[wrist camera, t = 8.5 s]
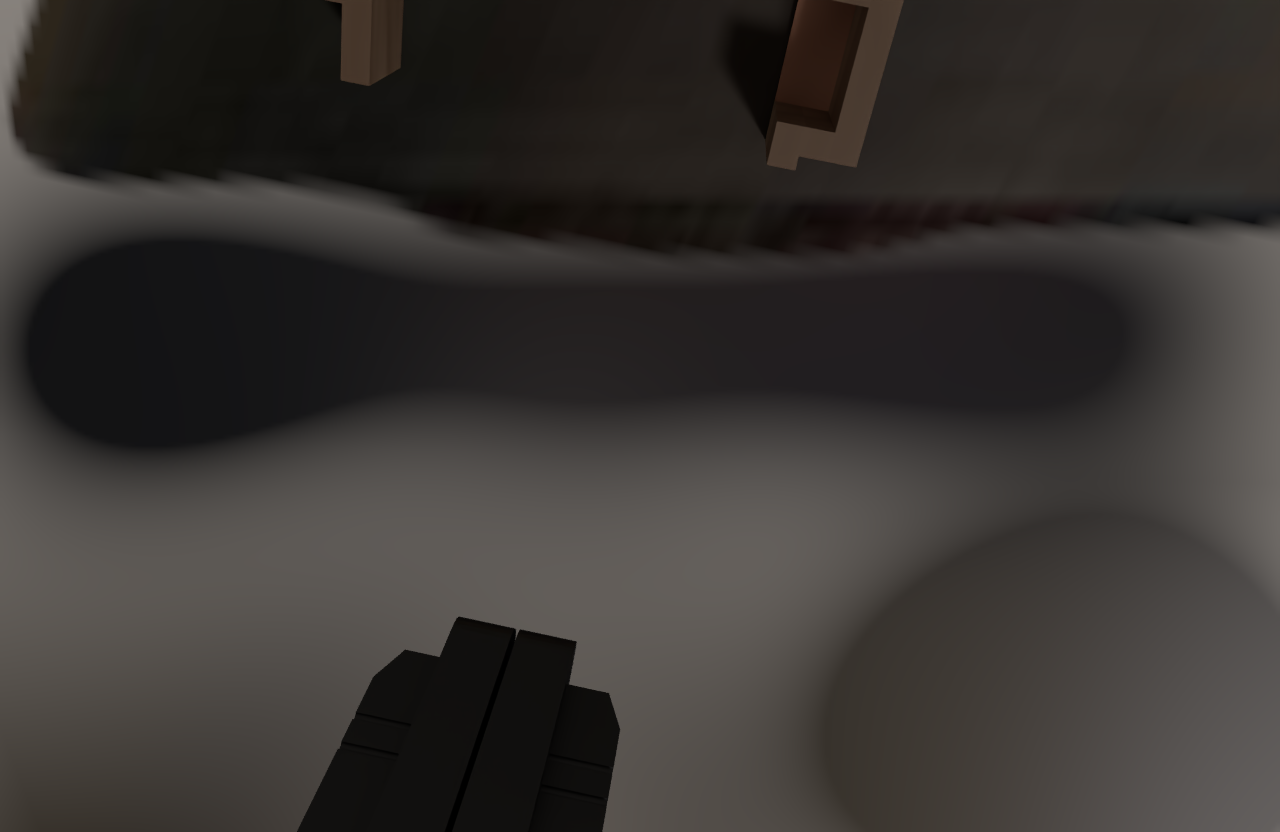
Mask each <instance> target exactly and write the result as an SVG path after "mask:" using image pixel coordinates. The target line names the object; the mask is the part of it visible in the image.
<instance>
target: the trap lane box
mask: <svg viewBox="0 0 1280 832" xmlns="http://www.w3.org/2000/svg"><path fill="white" fill-rule="evenodd" d="M327 1H332V2H337V3H342V41H341V80H342V81H347V82H352V83H357V84H362V85H367V86H370V85H372V84H373V83H375V82H377V81H379V80H380V79H382V78H384V77H385V76H387V75H389V74H391V73H392V72H394V71H396V70H397V69H399V68H400V67H401V45H402V24H403V2H404V0H327ZM903 1H904V0H798V3H797V7H796V12H795V16H794V20H793V24H792V29H791V33H790V37H789V41H788V46H787V50H786V54H785V58H784V63H783V67H782V71H781V75H780V80H779V84H778V88H777V92H776V97H775V101H774V105H773V110H772V114H771V118H770V122H769V127H768V131H767V135H766V139H765V143H766V159H767V165H770V166H775V167H780V168H786V169H791V170H795V169H796V165H797V161H798V158H799V156H800V157H805V158H810V159H815V160H821V161H826V162H831V163H836V164H841V165H846V166H851V167H856V166H857V162H858V159H859V155H860V152H861V148H862V145H863V141H864V138H865V134H866V131H867V127H868V124H869V120H870V117H871V113H872V110H873V106H874V103H875V99H876V96H877V92H878V89H879V85H880V82H881V78H882V75H883V71H884V68H885V64H886V61H887V57H888V54H889V50H890V47H891V43H892V40H893V36H894V33H895V29H896V26H897V22H898V19H899V15H900V12H901V8H902V5H903Z"/></svg>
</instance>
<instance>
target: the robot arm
mask: <svg viewBox="0 0 1280 832" xmlns="http://www.w3.org/2000/svg"><path fill="white" fill-rule="evenodd" d="M515 638H516V640H515ZM576 643H577V642H576V641H572V640H567V639H563V638H557V637H553V636H549V635H544V634H539V633H535V632H530V631H525V630H519V632H518V635H517V637H516V629H514V628H510V627H505V626H501V625H496V624H491V623H486V622H482V621H477V620H472V619H468V618H463V617H458V618H457V619H456V621H455V622H454V625H453V627H452V629H451V631H450V634H449V636H448V639H447V641H446V643H445V646H444V648H443V651H442V653H441V655H440V657H437V656H432V655H427V654H423V653H418V652H413V651H409V650H404V651H403V652H402V653H401V654H400V655H398V657H396V658H395V659H394V660H393V661H391V662H390V663H389V664H388V665H387V666H385V667H384V668H383V669H382V670H381V671H380V672H378V673H377V674H376V675H375V676H374V677H373V679H372V681H371V683H370V685H369V687H368V689H367V691H366V693H365V695H364V697H363V699H362V701H361V703H360V705H359V707H358V709H357V711H356V715H355V718H354V719H352V721H351V723H350V725H349V727H348V729H347V731H346V733H345V736H344V737H343V739H342V742H341V746H340V749H338V750H337V752H336V754H335V756H334V758H333V760H332V762H331V764H330V766H329V768H328V770H327V772H326V774H325V776H324V778H323V780H322V782H321V784H320V786H319V788H318V790H317V792H316V794H315V796H314V799H313V800H312V802H311V804H310V806H309V808H308V810H307V812H306V814H305V816H304V818H303V821H302V822H301V825H300V827H299V829H298V831H297V832H602V830H603V824H604V818H605V813H606V806H607V801H608V796H609V790H610V784H611V778H612V772H613V767H614V761H615V756H616V750H617V744H618V739H619V732H620V728H619V725H618V721H617V718H616V715H615V711H614V708H613V705H612V702H611V698H610V695H609V693H606V692H601V691H596V690H592V689H587V688H582V687H578V686H573V685H569V682H570V675H571V671H572V666H573V660H574V655H575V649H576Z"/></svg>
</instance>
